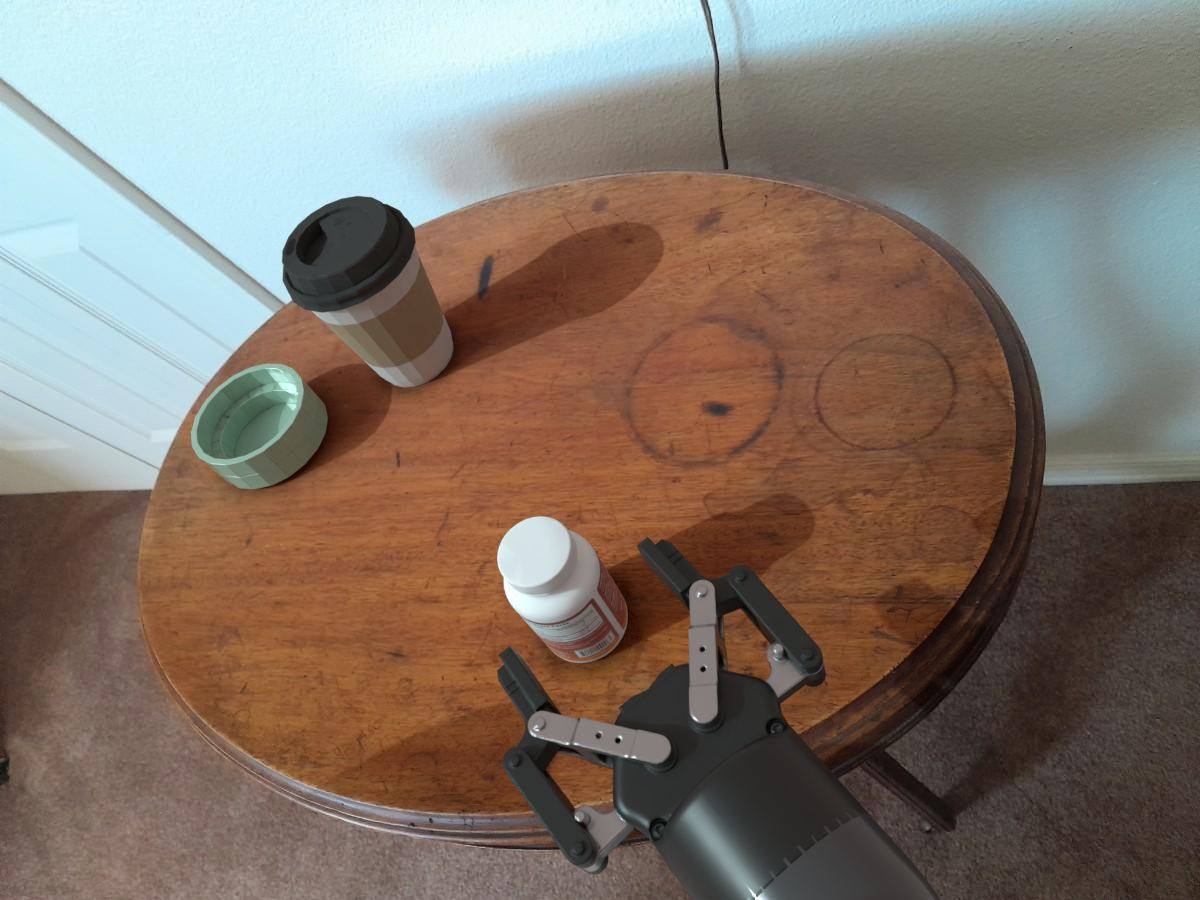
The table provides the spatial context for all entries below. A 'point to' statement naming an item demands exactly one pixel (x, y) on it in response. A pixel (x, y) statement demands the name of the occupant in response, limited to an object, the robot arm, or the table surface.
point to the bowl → (259, 426)
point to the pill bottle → (562, 589)
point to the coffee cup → (369, 287)
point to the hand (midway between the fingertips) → (578, 601)
